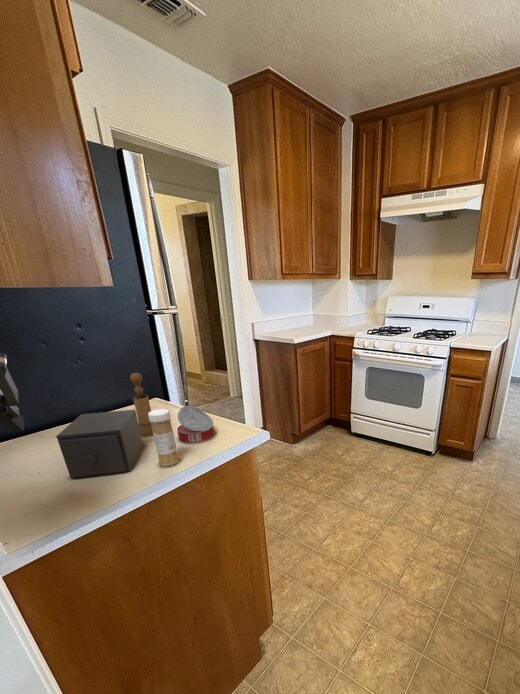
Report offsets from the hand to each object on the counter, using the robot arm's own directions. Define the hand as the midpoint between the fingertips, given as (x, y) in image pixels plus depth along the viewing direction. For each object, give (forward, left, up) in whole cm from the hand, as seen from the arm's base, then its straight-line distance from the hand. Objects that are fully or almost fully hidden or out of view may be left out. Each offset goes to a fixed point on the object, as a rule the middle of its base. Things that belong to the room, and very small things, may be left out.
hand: (18, 425), depth 62 cm
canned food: (+22, +33, -18) cm, 44 cm away
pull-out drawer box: (+3, +19, -17) cm, 25 cm away
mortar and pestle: (+7, +39, -18) cm, 44 cm away
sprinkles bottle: (+18, +17, -18) cm, 31 cm away
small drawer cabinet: (+3, +21, -18) cm, 28 cm away
